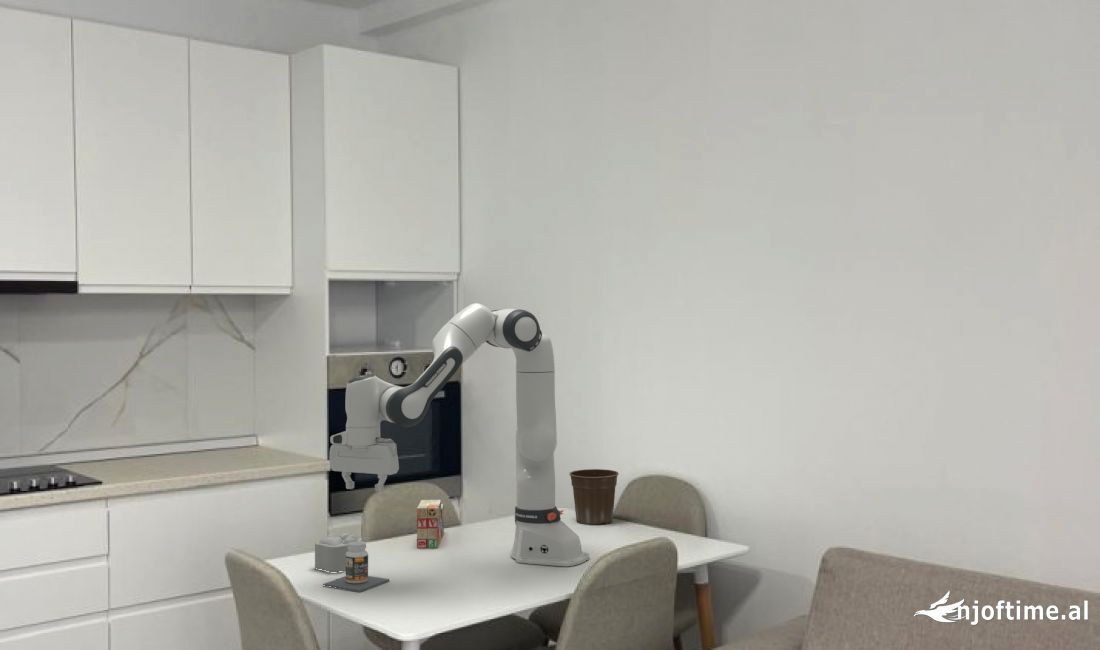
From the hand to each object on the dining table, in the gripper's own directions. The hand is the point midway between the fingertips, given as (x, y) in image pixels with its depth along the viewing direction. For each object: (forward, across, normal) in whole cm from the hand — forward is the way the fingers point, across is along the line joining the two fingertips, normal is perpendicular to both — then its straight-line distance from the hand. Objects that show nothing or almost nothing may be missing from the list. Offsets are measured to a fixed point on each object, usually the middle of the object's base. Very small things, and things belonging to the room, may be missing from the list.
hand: (364, 489), depth 282 cm
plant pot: (+25, -21, -94) cm, 100 cm away
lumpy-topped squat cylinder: (+24, +14, -7) cm, 29 cm away
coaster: (+24, 0, +5) cm, 24 cm away
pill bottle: (+23, 0, +5) cm, 24 cm away
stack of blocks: (+24, +11, -46) cm, 53 cm away
